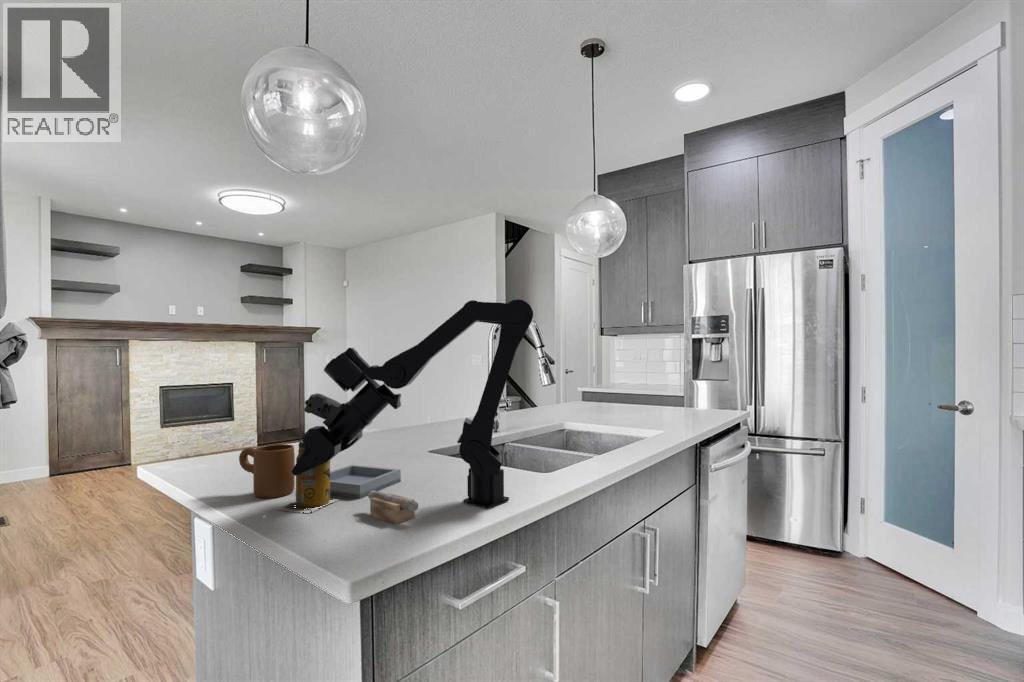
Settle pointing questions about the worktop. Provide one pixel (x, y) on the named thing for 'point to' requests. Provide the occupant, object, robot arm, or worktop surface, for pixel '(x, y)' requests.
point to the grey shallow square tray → (361, 480)
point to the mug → (270, 469)
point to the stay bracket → (391, 507)
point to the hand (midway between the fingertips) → (303, 467)
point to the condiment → (311, 487)
